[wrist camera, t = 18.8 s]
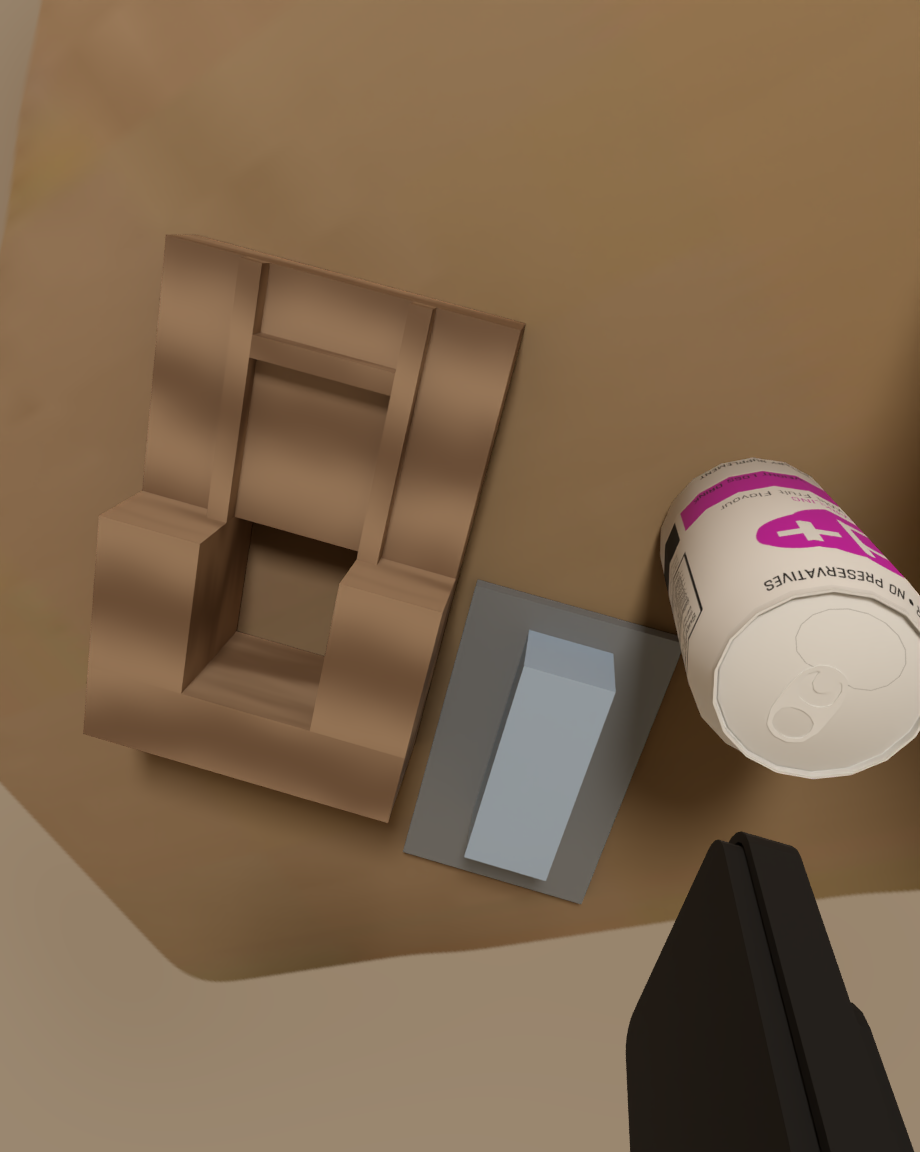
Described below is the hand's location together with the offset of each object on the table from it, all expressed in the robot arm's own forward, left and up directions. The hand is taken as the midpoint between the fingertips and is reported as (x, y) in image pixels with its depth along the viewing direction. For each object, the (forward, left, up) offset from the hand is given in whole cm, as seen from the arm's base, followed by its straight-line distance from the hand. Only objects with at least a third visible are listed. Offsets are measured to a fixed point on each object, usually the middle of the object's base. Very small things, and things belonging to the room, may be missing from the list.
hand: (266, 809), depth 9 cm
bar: (-7, +19, -32) cm, 38 cm away
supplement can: (-13, +5, -34) cm, 36 cm away
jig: (+8, +10, -33) cm, 36 cm away
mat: (-7, +20, -33) cm, 39 cm away
